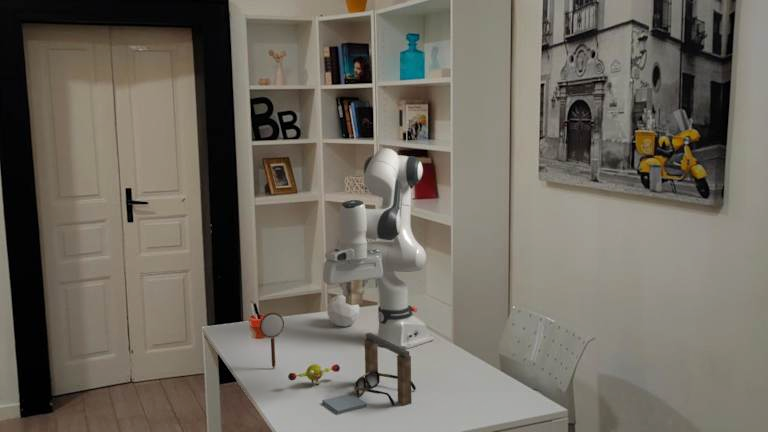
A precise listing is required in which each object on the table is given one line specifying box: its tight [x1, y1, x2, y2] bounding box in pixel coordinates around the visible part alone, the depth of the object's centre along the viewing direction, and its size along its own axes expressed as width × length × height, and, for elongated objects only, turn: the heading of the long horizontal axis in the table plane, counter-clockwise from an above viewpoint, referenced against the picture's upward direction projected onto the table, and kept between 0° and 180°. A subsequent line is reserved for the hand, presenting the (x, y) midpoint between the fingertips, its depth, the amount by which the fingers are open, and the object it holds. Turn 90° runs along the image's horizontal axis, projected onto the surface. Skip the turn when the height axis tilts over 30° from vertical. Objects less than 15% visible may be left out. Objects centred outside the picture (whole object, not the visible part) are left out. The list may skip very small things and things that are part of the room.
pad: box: [322, 392, 368, 415], centre depth 230 cm, size 10×10×1 cm
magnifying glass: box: [259, 312, 285, 369], centre depth 261 cm, size 9×2×20 cm, turn 116°
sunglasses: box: [353, 370, 417, 407], centre depth 237 cm, size 14×15×5 cm
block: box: [345, 279, 364, 305], centre depth 239 cm, size 4×4×8 cm
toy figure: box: [287, 364, 340, 387], centre depth 246 cm, size 18×6×7 cm, turn 117°
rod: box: [365, 332, 410, 358], centre depth 236 cm, size 2×23×2 cm, turn 32°
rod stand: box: [364, 338, 412, 406], centre depth 238 cm, size 3×22×15 cm, turn 32°
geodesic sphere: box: [327, 292, 361, 328], centre depth 311 cm, size 14×14×14 cm
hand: (353, 295), depth 240 cm, fingers closed on block, 4 cm apart
